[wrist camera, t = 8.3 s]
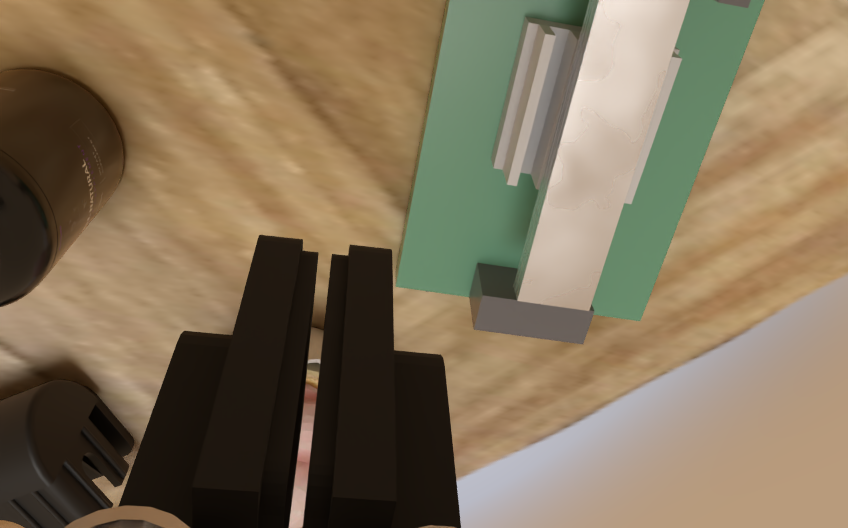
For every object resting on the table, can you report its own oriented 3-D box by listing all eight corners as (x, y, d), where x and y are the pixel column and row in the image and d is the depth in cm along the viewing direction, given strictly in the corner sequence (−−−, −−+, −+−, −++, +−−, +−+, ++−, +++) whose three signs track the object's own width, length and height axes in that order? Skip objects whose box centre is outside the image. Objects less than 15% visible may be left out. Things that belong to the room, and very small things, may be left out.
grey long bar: (615, -104, 25) (628, -103, 24) (701, -87, 25) (719, -84, 24) (512, 283, 32) (517, 303, 30) (581, 293, 32) (590, 313, 31)
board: (485, -207, 27) (508, -216, 21) (799, -140, 28) (906, -130, 22) (395, 270, 37) (394, 358, 31) (632, 304, 38) (674, 394, 32)
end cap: (68, 346, 39) (8, 439, 33) (146, 440, 42) (105, 540, 36) (-88, 408, 41) (-171, 506, 35) (-1, 494, 44) (-63, 597, 38)
